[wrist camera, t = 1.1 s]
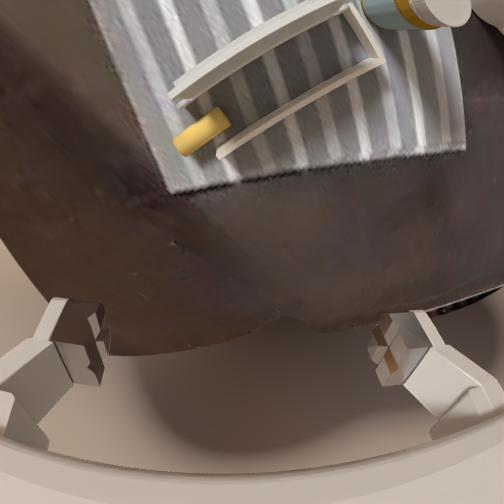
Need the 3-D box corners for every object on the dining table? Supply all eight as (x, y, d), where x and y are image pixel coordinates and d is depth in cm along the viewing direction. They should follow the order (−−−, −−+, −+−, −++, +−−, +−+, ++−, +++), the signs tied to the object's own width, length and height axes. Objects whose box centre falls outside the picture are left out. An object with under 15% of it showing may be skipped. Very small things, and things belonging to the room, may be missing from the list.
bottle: (412, 23, 31) (482, 26, 19) (372, 35, 32) (434, 36, 20) (393, -20, 27) (458, -36, 15) (350, -10, 29) (406, -31, 17)
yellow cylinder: (220, 108, 39) (214, 105, 36) (233, 126, 39) (227, 124, 36) (178, 138, 41) (169, 138, 38) (190, 156, 41) (182, 156, 38)
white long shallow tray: (342, 4, 30) (353, 1, 27) (375, 60, 35) (388, 62, 31) (180, 101, 37) (174, 106, 34) (220, 151, 42) (219, 161, 38)
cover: (336, 12, 28) (329, 4, 28) (354, -8, 21) (346, -19, 20) (190, 98, 34) (184, 90, 33) (170, 99, 26) (162, 89, 26)
